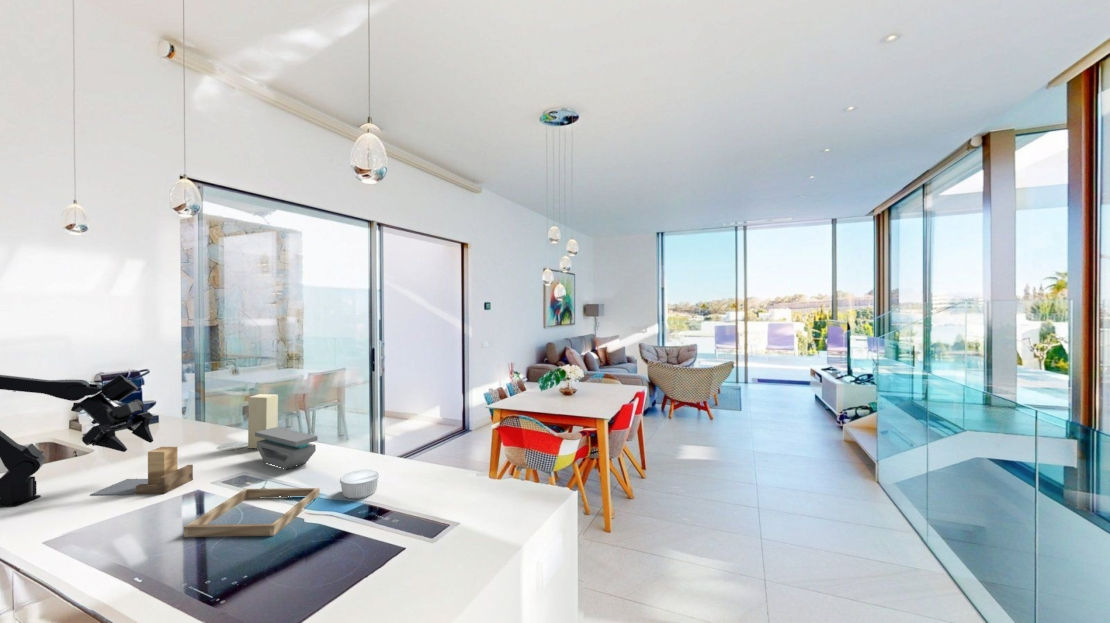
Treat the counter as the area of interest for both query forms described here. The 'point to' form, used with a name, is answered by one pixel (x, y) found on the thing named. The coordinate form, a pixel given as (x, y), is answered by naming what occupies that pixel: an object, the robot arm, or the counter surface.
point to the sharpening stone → (285, 447)
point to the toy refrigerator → (261, 416)
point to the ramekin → (359, 483)
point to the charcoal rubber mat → (122, 487)
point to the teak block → (161, 463)
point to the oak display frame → (203, 530)
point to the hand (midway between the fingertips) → (139, 446)
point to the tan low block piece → (168, 481)
